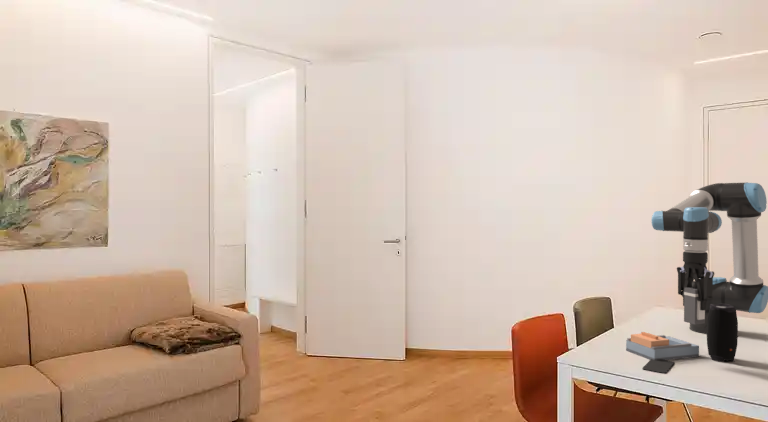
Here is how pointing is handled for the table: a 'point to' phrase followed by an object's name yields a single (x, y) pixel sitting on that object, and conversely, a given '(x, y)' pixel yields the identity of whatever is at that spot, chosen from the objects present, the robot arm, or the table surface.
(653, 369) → the phone
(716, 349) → the portable speaker
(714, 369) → the table surface
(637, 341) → the panel
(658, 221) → the robot arm
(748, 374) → the table surface
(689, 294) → the grey bottle-shaped block
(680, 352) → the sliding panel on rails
